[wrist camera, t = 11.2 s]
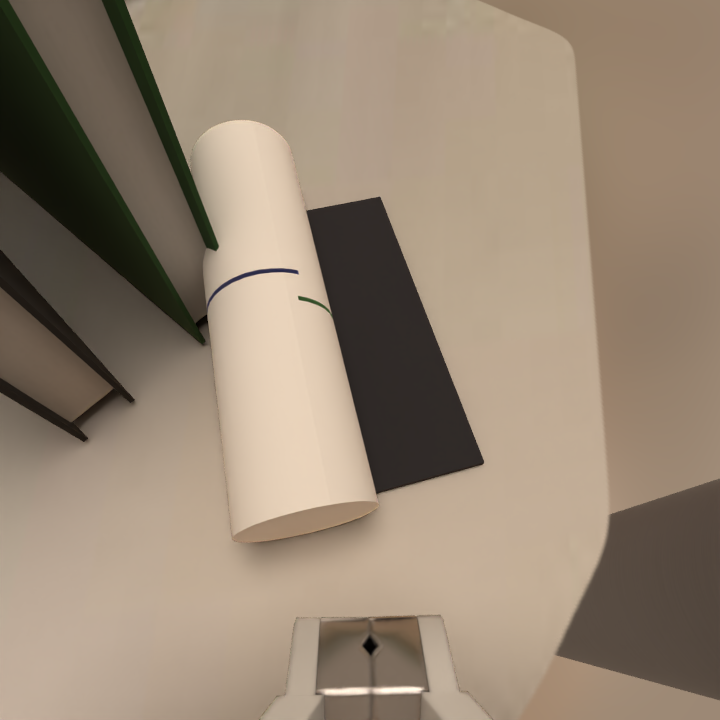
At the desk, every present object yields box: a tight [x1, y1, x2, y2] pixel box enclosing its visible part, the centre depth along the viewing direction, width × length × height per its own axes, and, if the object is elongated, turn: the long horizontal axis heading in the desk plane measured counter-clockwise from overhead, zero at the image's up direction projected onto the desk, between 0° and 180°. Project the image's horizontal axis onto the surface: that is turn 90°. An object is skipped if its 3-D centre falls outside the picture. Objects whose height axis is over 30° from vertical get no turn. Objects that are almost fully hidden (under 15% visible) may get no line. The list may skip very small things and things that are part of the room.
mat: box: [306, 197, 484, 493], centre depth 32 cm, size 14×22×1 cm, turn 15°
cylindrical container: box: [191, 120, 379, 543], centre depth 29 cm, size 7×7×25 cm
